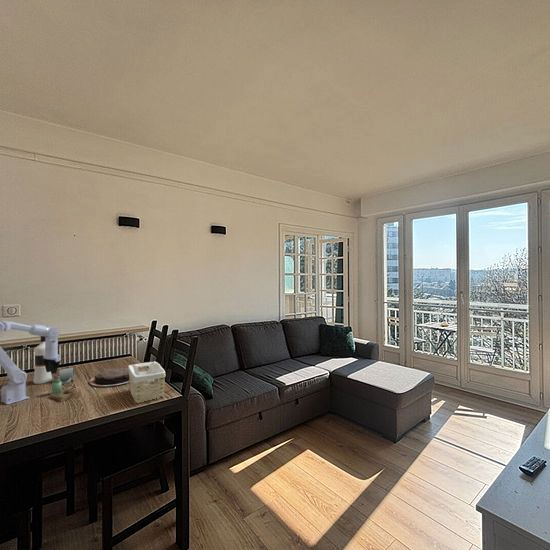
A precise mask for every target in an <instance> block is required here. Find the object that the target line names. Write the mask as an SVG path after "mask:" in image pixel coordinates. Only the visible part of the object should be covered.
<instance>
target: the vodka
mask: <svg viewBox="0 0 550 550" xmlns="http://www.w3.org/2000/svg"><path fill="white" fill-rule="evenodd" d="M33 351H34V367H33V368H34V373H33V374H34V375H33V379H32V382H33V384H35V385H41V384H42V383H43V384H46V383H50V382H51V381H52V379H53V374H52V373H51V372H47V371H46V368H45V365H44V363H43V362H42V360H45V359H44V358H43V355H45V336H44V337H43V336H40V343H39V344H38V345H37V346H35V347H34V350H33Z"/></svg>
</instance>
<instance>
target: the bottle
mask: <svg viewBox="0 0 550 550" xmlns="http://www.w3.org/2000/svg"><path fill="white" fill-rule="evenodd" d="M59 378H60V376H54V378H53V379H54V382H52V383H51V394H53V393H54V394H57V395H61V394H62V392H63V388H62V387H63V384H62V382H63V381H59Z"/></svg>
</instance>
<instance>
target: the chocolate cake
mask: <svg viewBox="0 0 550 550" xmlns="http://www.w3.org/2000/svg"><path fill="white" fill-rule="evenodd" d="M127 383H128V384H130V380H129V372H128V367H126V368H125V367H117V368H116V367H114V368H109V369H106V370H102V371H100V372H98V373H97V374H95V375H94V376H93V377H92V378H91V379H90V380H89V385H91V386H92V387H102V388H111V387H112V388H113V387H114V388H115V387H120V386H122V384H123V385H128V384H127Z"/></svg>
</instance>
